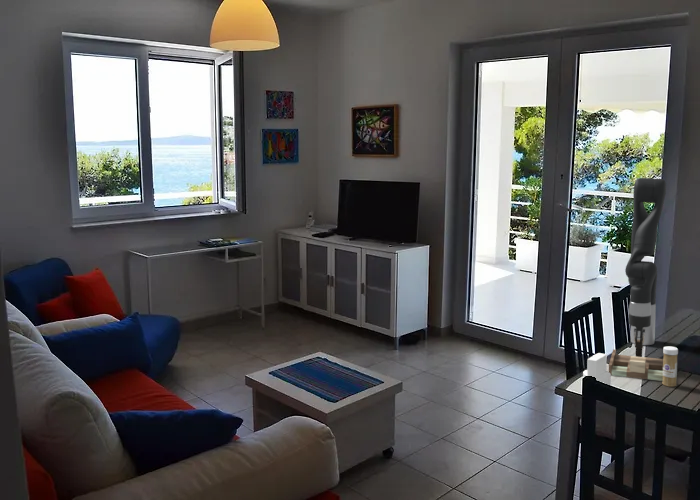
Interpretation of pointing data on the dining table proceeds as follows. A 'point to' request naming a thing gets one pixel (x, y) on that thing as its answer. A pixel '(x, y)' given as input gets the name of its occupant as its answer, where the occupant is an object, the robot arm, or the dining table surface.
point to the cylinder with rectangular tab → (598, 368)
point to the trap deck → (622, 368)
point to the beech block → (637, 364)
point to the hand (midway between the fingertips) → (638, 356)
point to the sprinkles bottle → (670, 366)
